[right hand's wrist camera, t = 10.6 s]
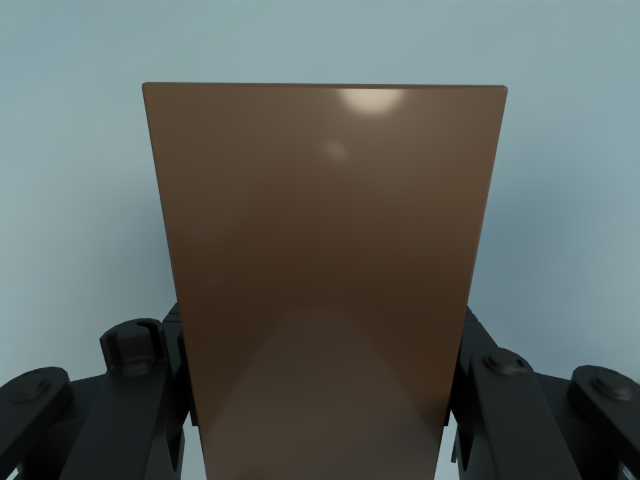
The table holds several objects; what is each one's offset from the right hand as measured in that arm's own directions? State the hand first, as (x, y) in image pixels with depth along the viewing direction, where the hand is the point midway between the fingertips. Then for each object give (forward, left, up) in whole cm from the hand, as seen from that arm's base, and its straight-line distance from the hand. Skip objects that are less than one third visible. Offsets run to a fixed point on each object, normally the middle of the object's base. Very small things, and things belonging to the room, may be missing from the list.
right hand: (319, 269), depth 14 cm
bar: (+27, +20, 0) cm, 33 cm away
